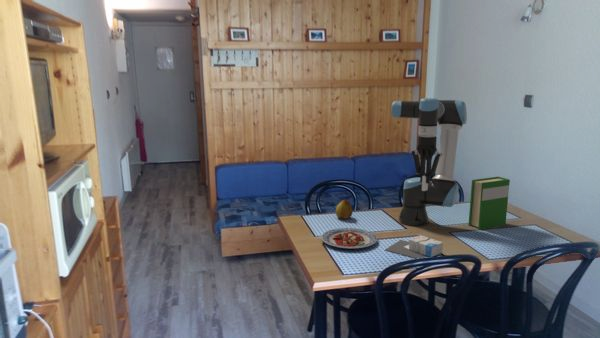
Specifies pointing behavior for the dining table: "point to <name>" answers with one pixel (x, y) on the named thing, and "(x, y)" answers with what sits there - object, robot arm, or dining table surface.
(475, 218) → the hardback book
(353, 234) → the ceramic plate
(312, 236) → the dining table surface
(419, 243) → the ink box
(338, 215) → the fruit
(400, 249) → the mat
